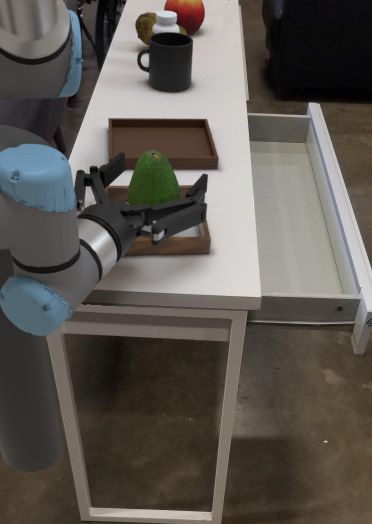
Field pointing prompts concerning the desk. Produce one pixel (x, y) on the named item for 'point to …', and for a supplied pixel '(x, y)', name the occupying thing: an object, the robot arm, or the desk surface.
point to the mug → (169, 61)
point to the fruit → (187, 13)
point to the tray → (164, 141)
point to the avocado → (153, 181)
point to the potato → (148, 26)
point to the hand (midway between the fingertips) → (163, 171)
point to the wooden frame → (171, 243)
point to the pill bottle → (165, 22)
